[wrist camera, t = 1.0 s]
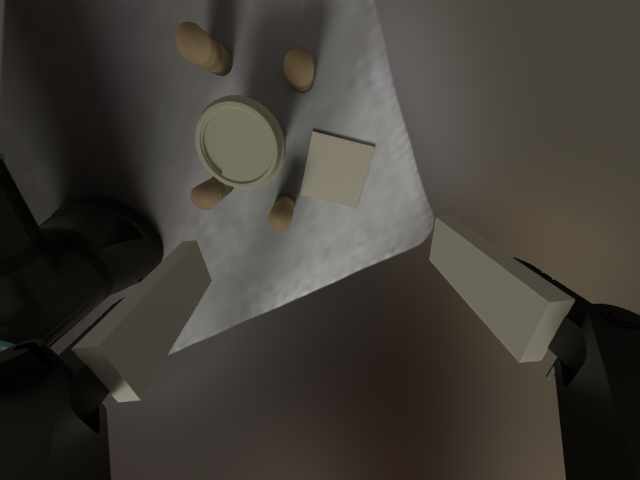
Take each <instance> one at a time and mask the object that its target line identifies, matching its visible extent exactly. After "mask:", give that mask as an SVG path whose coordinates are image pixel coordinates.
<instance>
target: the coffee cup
mask: <svg viewBox="0 0 640 480" xmlns="http://www.w3.org/2000/svg"><path fill="white" fill-rule="evenodd" d="M195 144H196V149H197V152H198V155H199V158H200V160H201V162H202V163H203V165H204V166H205V168H206V169H207V170H208V171H209V173H210V174H211V175H213V176H214V177H215V178H216V179H218V180H219V181H221V182H222V183H224V184H227V185H229V186H232V187H235V188H239V189H254V188H258V187H261V186H264V185H266V184H268V183H269V182H271V181H272V180H273V179H274V178H275V177H276V176H277V175H278V173H279V172H280V170H281V168H282V166H283V164H284V160H285V155H286V143H285V137H284V134H283V131H282V128H281V126H280V124H279V122H278V121H277V119H276V118H275V116H274V115H273V114H272V113H271V112H270V111H269V110H268V109H267V108H266V107H265V106H264V105H262V104H261V103H259V102H258V101H256V100H254V99H251V98H249V97H245V96H239V95H231V96H226V97H222V98H220V99H217V100H215V101H214V102H212V103H211V104H210V105H208V106H207V107H206V108H205V110H204V111H203V112H202V114H201V116H200V118H199V121H198V123H197V127H196V131H195Z"/></svg>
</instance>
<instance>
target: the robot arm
mask: <svg viewBox="0 0 640 480" xmlns="http://www.w3.org/2000/svg"><path fill="white" fill-rule="evenodd" d="M3 160H5V157H4V155H3V154H1V153H0V480H111V471H110V456H109V441H108V426H107V411H106V408H105V406H104V404H103V403H102V401H103V400H104V399H105V397H106V396H107V395H108V393H109V392H110V393H111V395H112V396H113V397H114V398H115V399H116V400H117V401H118V402H125V401H135V400H140V399H141V398H142V397H143V395H144V393H145V392H146V390H147V388H148V387H149V385H150V383H151V382H152V380H153V378H154V377H155V375H156V373H157V371H158V370H159V368H160V366H161V365H162V363H163V361H164V360H165V358H166V357H167V355H168V353H169V352H170V350H171V348H172V347H173V345H174V343H175V342H176V340H177V338H178V337H179V335H180V333H181V332H182V330H183V328H184V327H185V325H186V323H187V322H188V320H189V318H190V316H191V315H192V313H193V311H194V310H195V308H196V306H197V305H198V303H199V301H200V300H201V298H202V296H203V295H204V293H205V291H206V290H207V288H208V286H209V285H210V283H211V281H212V280H211V277H210V275H209V272H208V269H207V267H206V264H205V261H204V259H203V256H202V253H201V251H200V248H199V245H198V243H197V240H195V241H185V242H182V243H181V244H180V245H179V246H178V247H177V248H176V249H174V250H173V251H172V252H171V253H170V254H169V255H168V256H167V257H166V258H165V259H164V260H163V261H162V257H163V248H162V244H161V240H160V238H159V236H158V234H157V232H156V231H155V229H154V228H153V227H152V225H151V224H150V223H149V222H148V221H147V220H146V219H145V218H144V217H143V216H142V215H141V214H139V213H138V212H136V211H135V210H134V209H132V208H130V207H128V206H127V205H125V204H122V203H120V202H117V201H115V200H111V199H107V198H101V197H88V198H83V199H79V200H77V201H74V202H71V203H68V204H65V205H64V206H62V207H60V208H59V209H57V210H56V211H55V212H54V213H53V214H52V215H51V217H50V218H48V219H47V220H46V221H45V222H43V223H42V224H41V225H40V226H38V224H37V223H36V221H35V219H34V217H33V215H32V213H31V211H30V210H29V208H28V206H27V204H26V202H25V200H24V199H23V197H22V195H21V193H20V191H19V189H18V187H17V186H16V184H15V182H14V180H13V178H12V176H11V175H10V173H9V171H8V169H7V167H6V165H5V163H4V161H3ZM429 260H430V261H431V262H432V263H433V265H434V266H435V267H436V268H437V269H438V270H439V271H440V273H441V274H442V275H443V276H444V277H445V278H446V279H447V281H448V282H449V283H450V284H451V285H452V286H453V287H454V289H455V290H456V291H457V292H458V293H459V294H460V295H461V297H462V298H463V299H464V300H465V301H466V302H467V303H468V305H469V306H470V307H471V308H472V309H473V310H474V311H475V313H476V314H477V315H478V316H479V317H480V318H481V320H482V321H483V322H484V323H485V324H486V325H487V326H488V327H489V329H490V330H491V331H492V332H493V333H494V334H495V336H496V337H497V338H498V339H499V340H500V341H501V342H502V343H503V345H504V346H505V347H506V348H507V349H508V350H509V351H510V353H511V354H512V355H513V356H514V357H515V358H516V360H517V361H518V362H519V363H522V362H532V361H541V360H542V359H543V357H544V355H545V353H546V351H547V350H548V349H550V350H551V351H552V352H553V353H554V354H555V355H556V356H557V359H556V360H555V362H554V364H553V365H552V367H551V369H550V370H549V372H548V374H547V376H546V380H549V381H550V380H551V379H552V377H553V376H555V379H556V389H557V398H558V408H559V417H560V427H561V435H562V445H563V455H564V464H565V474H566V480H640V315H638V314H635V313H633V312H631V311H629V310H626V309H623V308H620V307H617V306H613V305H608V304H592V303H590V302H589V301H587V300H585V299H584V298H582V297H581V296H579V295H577V294H576V293H575V292H573V291H571V290H570V289H568V288H567V287H565V286H564V285H562V284H560V283H559V282H557V281H556V280H552V278H551V277H550V276H548V275H547V274H545V273H542V272H541V271H540V270H539V269H537V268H536V267H534V266H532V265H531V264H529V263H527V262H525V261H522V260H519V259H517V258H515V257H514V258H512V257H511V256H509V255H508V254H506V253H505V252H503V251H502V250H500V249H499V248H497V247H496V246H494V245H493V244H491V243H490V242H488V241H487V240H485V239H484V238H482V237H481V236H479V235H478V234H476V233H475V232H473V231H472V230H470V229H469V228H467V227H466V226H464V225H463V224H461V223H460V222H458V221H457V220H455V219H454V218H452V217H451V216H444V217H436V222H435V228H434V234H433V240H432V246H431V253H430V259H429ZM161 261H162V262H161ZM139 282H140V283H139ZM137 283H139V284H138V285H137V286H136V287H135V288H134V289H133V290H132V291H131V292H130V293H129V294H128V295H127V296H125V297H124V298H122V299H121V300H119V301H118V302H116V303H115V304H113V305H112V306H111V307H110V308H109V309H108V310H106V311H105V312H104V313H103V314H102V317H99V318H98V319H97V320H96V321H95V322H94V323H93V325H91V326H89V327H88V328H87V329H86V330H85V331H84V332H83V333H82V334H81V335H80V336H79V337H78V338H77V339H76V340H75V341H74V342H72V343H71V344H70V345H69V346H68V347H67V348H66V349H65V350H64V351H63V352H62V353H61V354H60V355H59V356H58V355H57V354H56V353H55V352H54V351H53V350H52V349H51V348H50V347H51V346H52V345H53V344H54V343H56V342H57V341H58V340H59V339H60V338H61V337H62V336H64V335H65V334H66V333H67V332H68V331H69V330H70V329H72V328H73V327H74V326H75V325H76V324H77V323H78V322H80V321H81V320H82V319H83V318H84V317H85V316H86V315H88V314H89V313H90V312H91V311H92V310H93V309H94V308H95V307H97V306H98V305H99V304H100V303H101V302H102V301H103V300H105V299H106V298H107V297H108V296H109V295H111V294H114V293H116V292H118V291H121V290H123V289H125V288H127V287H129V286H131V285H134V284H137Z"/></svg>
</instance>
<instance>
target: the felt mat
mask: <svg viewBox="0 0 640 480" xmlns="http://www.w3.org/2000/svg"><path fill="white" fill-rule="evenodd" d="M374 150H375V147H373V146H369V145H365V144H361V143H357V142H353V141H349V140H345V139H341V138H337V137H334V136H330V135H326V134H322V133H318V132H314V131H312V136H311V141H310V146H309V152H308V157H307V162H306V167H305V172H304V177H303V182H302V187H301V193H300V195H303V196H308V197H312V198H317V199H321V200H326V201H331V202H335V203H340V204H345V205H349V206H354V207H357V204H358V200H359V197H360V194H361V191H362V188H363V185H364V181H365V178H366V175H367V172H368V169H369V166H370V162H371V159H372V156H373V153H374Z"/></svg>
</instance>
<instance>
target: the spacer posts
mask: <svg viewBox="0 0 640 480" xmlns="http://www.w3.org/2000/svg"><path fill="white" fill-rule="evenodd" d="M175 39H176V45H177V48H178V50H179V52H180V53H181V55H182V56H183V57H184V58H185V59H186V60H188V61H190V62H192V63H194V64H196V65H198V66H200V67H202V68H204V69H206V70H208V71H210V72H213V73H215V74H217V75H219V76H225V75H227V74H228V73H229V72H230V71H231V69H232V58H231V55H230V53H229V52H228V50H227V49H226V48H225V47H223V46H222V45H221V44H220V43H218V42H217V41H216V40H215V39H214V38H212V37H211V36H210V35H209V34H208V33H206V32H205V31H204V30H203V29H202V28H200V27H199V26H198V25H196V24H195V23H192V22H184V23H182V24H181V25H180V26H179V27H178V28H177V31H176V35H175ZM284 72H285V75H286V77H287V79H288V80H289V82H290V83H291V85H292V87H293V88H294V89H295V90H296V91H297V92H300V93H305V92H308V91H309V90H310V89H311V88H312V86H313V84H314V61H313V58H312V56H311V55H310V53H309V52H308V51H307V50H305V49H303V48H299V47H297V48H293V49H291V50H290V51H289V52H288V53H287V55H286V56H285V59H284ZM232 190H233V187H232V186H229V185H227V184H224V183H222V182H221V181H219V180H218V179H216V178H215V177H213V178H211V179H209V180H207V181H205V182H204V183H202V184H200V185H198V186H196V187H195V188H193V189H192V191H191V199H192V202H193V203H194V204H195V205H196V206H197V207H199V208H201V209H205V210H208V209H211V208H213V207H214V206H215V205H216V204H217V203H218V202H220V201H221V200H222V199H223V198H224V197H225V196H227V195H228V194H229V193H230V192H231V191H232ZM294 207H295V202H294V199H293V198H292V197H291V196H290V195H287V194H283V195H280V196H278V198H277V199H276V201H275V203H274V205H273V207H272V210H271V212H270V214H269V216H268V224H269V226H270V227H271V228H272V229H274V230H276V231H284V230H286V229H288V228H289V226H290V224H291V220H292V215H293V211H294Z"/></svg>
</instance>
